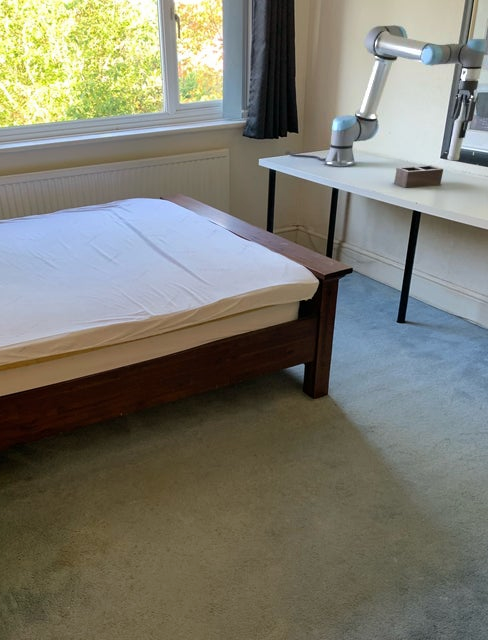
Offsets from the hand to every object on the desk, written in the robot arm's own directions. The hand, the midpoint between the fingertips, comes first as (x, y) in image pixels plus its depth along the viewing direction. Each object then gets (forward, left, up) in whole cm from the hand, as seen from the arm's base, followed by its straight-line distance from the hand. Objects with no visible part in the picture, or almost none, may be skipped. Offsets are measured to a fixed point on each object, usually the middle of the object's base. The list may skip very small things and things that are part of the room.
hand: (457, 136), depth 271 cm
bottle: (0, 0, -10) cm, 10 cm away
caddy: (+2, -18, -19) cm, 27 cm away
